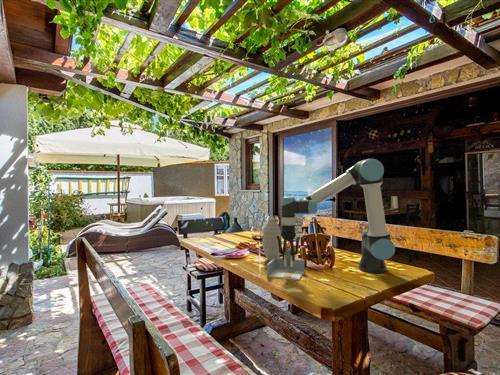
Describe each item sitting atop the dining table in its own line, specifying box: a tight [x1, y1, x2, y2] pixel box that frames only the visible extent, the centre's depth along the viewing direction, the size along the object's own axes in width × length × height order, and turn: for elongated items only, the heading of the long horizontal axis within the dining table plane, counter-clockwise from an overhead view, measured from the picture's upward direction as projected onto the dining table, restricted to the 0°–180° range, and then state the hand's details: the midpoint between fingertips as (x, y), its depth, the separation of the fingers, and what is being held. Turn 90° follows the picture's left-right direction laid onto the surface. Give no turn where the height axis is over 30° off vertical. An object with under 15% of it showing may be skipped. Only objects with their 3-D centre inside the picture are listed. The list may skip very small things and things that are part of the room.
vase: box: [262, 217, 283, 262], centre depth 198 cm, size 13×13×28 cm
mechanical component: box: [284, 247, 292, 268], centre depth 167 cm, size 3×10×10 cm, turn 160°
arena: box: [266, 257, 305, 281], centre depth 169 cm, size 18×15×7 cm
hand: (288, 265), depth 167 cm, fingers closed on mechanical component, 3 cm apart
